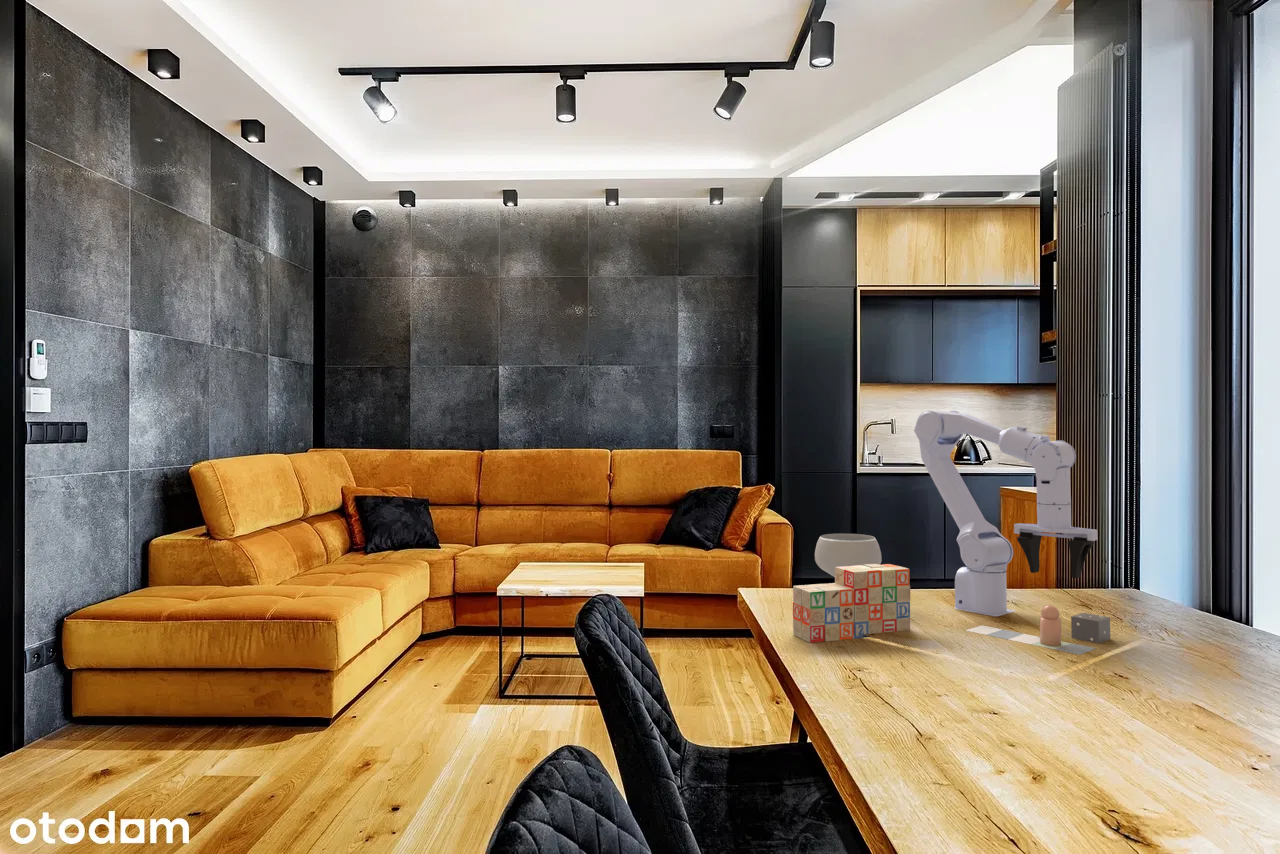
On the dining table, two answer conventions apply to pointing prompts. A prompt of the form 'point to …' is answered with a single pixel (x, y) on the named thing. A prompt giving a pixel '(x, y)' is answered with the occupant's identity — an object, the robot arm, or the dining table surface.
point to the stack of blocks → (853, 604)
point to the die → (1090, 627)
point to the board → (1029, 639)
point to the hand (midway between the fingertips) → (1055, 574)
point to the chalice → (846, 551)
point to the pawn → (1050, 626)
